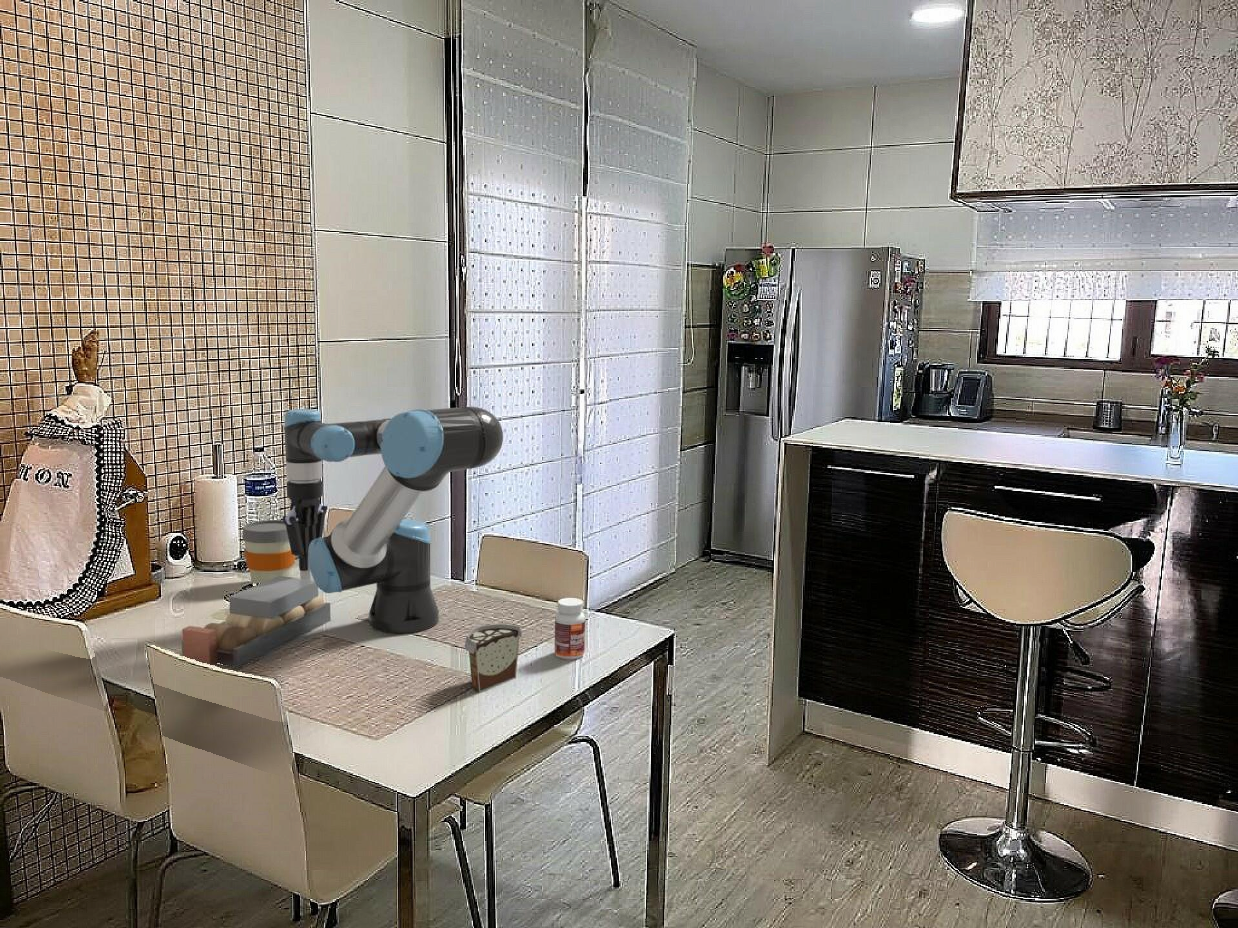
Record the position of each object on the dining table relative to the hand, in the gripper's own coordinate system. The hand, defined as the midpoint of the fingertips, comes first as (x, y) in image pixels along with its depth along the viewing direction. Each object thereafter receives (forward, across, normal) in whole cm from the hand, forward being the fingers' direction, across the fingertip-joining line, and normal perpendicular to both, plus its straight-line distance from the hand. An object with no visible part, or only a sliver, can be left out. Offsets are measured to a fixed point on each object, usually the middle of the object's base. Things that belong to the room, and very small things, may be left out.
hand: (307, 583), depth 208 cm
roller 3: (+7, +11, 0) cm, 13 cm away
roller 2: (+7, +18, 0) cm, 19 cm away
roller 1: (+7, +27, 0) cm, 28 cm away
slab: (+1, +11, 0) cm, 11 cm away
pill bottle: (+8, 0, +63) cm, 64 cm away
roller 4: (+7, +4, 0) cm, 8 cm away
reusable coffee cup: (+8, -15, -22) cm, 28 cm away
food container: (+8, +18, +53) cm, 57 cm away
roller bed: (+7, +18, 0) cm, 20 cm away
